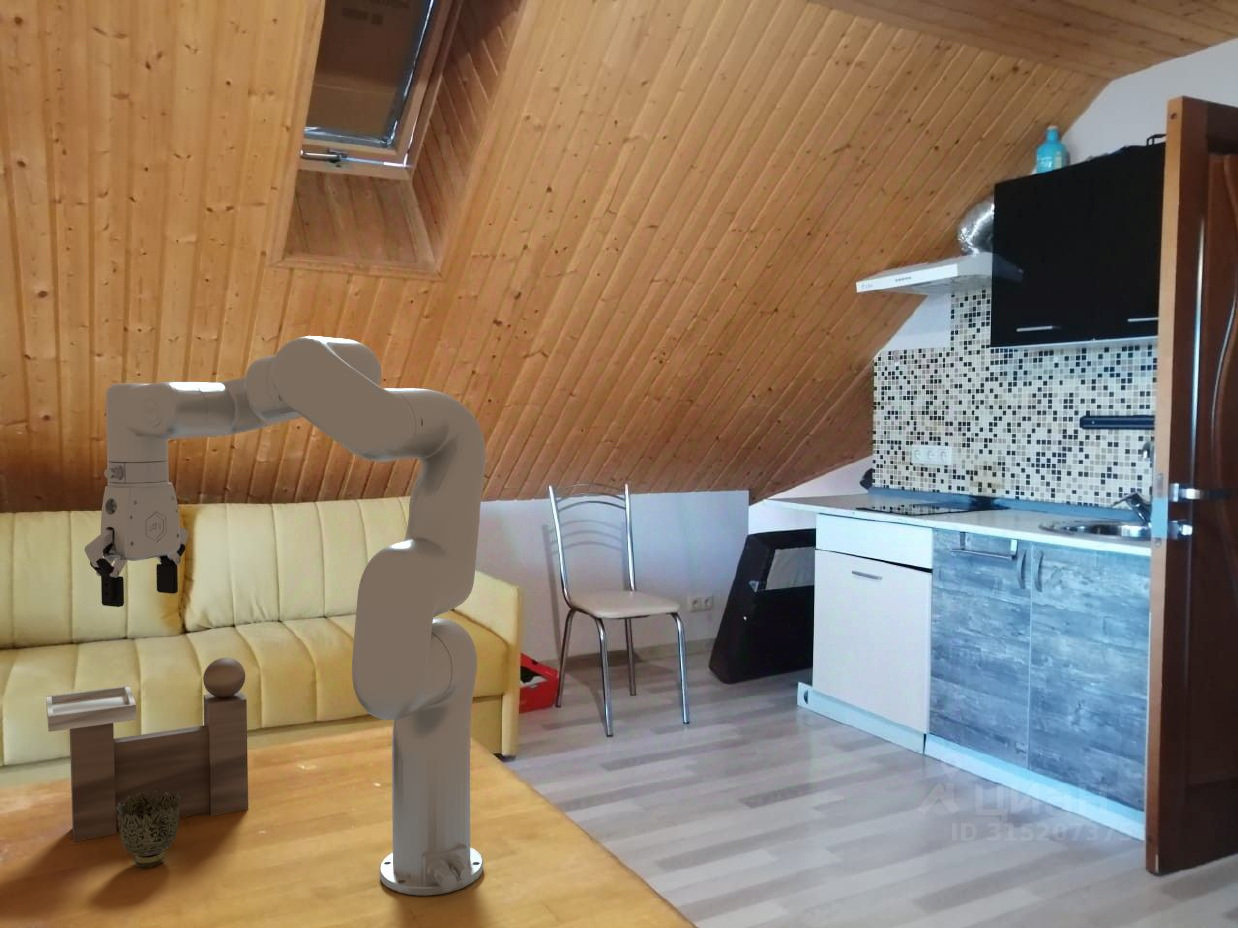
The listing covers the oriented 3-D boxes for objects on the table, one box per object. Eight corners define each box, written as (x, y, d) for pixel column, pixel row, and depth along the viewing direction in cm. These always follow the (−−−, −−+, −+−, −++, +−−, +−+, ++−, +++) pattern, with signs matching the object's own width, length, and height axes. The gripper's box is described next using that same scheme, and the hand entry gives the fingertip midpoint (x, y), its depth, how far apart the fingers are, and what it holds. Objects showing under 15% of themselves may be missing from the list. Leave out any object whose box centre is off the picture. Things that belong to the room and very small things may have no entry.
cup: (157, 879, 125) (155, 815, 124) (103, 873, 126) (102, 810, 125) (194, 852, 132) (192, 792, 131) (143, 847, 133) (142, 787, 133)
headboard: (254, 814, 144) (251, 664, 142) (52, 853, 131) (47, 688, 130) (240, 790, 153) (238, 648, 151) (50, 824, 140) (45, 669, 139)
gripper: (109, 480, 129) (112, 613, 130) (205, 471, 145) (207, 589, 147) (63, 478, 132) (67, 609, 133) (163, 469, 148) (165, 586, 149)
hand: (141, 598), depth 140 cm, fingers open, 9 cm apart
